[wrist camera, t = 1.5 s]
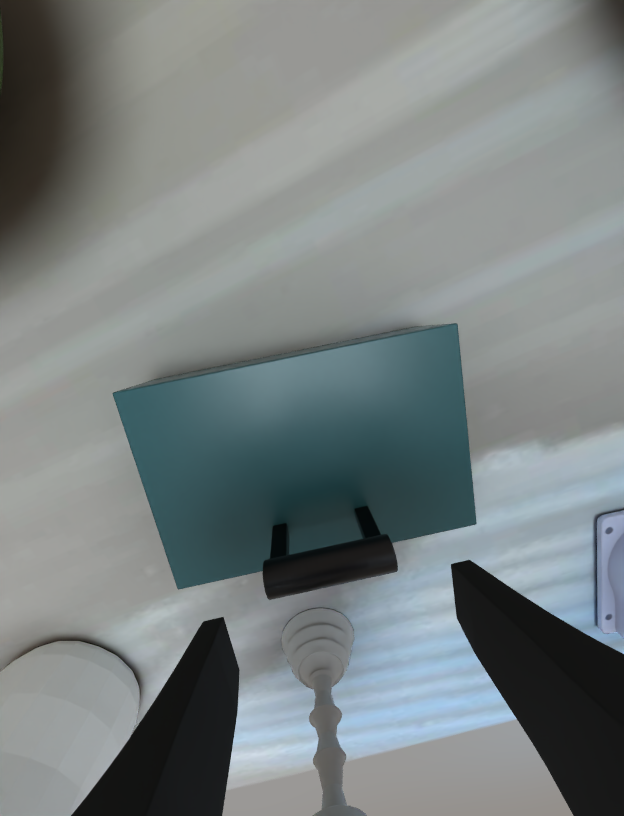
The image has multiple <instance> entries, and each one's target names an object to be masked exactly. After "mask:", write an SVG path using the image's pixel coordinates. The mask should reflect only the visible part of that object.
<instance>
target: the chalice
mask: <svg viewBox="0 0 624 816" xmlns="http://www.w3.org/2000/svg"><path fill="white" fill-rule="evenodd" d="M353 641H354V629H353V627H352V625H351V623H350V621H349V620H348V619H347V618H346V617H345V616H344V615H342V614H341V613H339V612H336V611H334V610H331V609H324V608H317V609H310V610H307V611H304V612H302V613H300V614H298V615H296V616H295V617H294V618H293V619H291V620H290V621H289V622H288V624H287V625H286V627H285V628H284V630H283V634H282V638H281V643H282V649H283V651H284V653H285V655H286V656H287V660H288V662H289V664H290V666H291V668H292V672H293V673H294V675H295V677H296V678H297V679H298V680H299V681H300V682H301V683H303V684H304V685H305V686H306V687H308V688H311V689H314V692H315V696H316V698H315V707H314V710H313V711H312V712H311V713H310V716H309V721H310V723H311V725H312V726H313V727H315V728H316V731H317V734H318V737H319V741H318V747H317V752H316V754H315V756H314V758H313V764H314V765H315V767H316V769H317V770H318V772H319V776H320V781H321V785H322V789H323V798H322V810H321V811H319V812H317V813H316V814H314V815H313V816H366V814H365V813H364V812H363V811H361V810H360V809H358V808H355V807H351V806H347V804H346V800H345V797H344V793H343V790H342V778H343V765H344V763H345V760H346V754H345V752H344V751H343V750H342V748H341V747H340V745H339V742H338V740H337V737H336V732H337V725H338V723H339V722H340V720H341V718H342V713H341V711H340V709H339V708H338V707H336V706H335V704H334V701H333V698H332V695H331V689H332V687H333V686H334V685H336V684H337V683H338V682H339V681H340V679H341V678H342V677H343V675H344V674H345V672H346V671H347V668H348V665H349V658H350V655H351V648H352V645H353Z"/></svg>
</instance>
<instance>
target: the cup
mask: <svg viewBox="0 0 624 816" xmlns="http://www.w3.org/2000/svg"><path fill="white" fill-rule="evenodd" d="M139 698H140V691H139V686H138V683H137V681H136V678H135V676H134V673H133V671H132V670H131V669H130V668H129V667H128V666H127V665H126V664H125V663H124V662H123V661H122V660H121V659H120V658H119V657H118V656H117V655H115V654H113V653H111V652H109V651H107V650H105V649H103V648H101V647H99V646H95V645H92V644H88V643H85V642H81V641H57V642H54V643H50V644H47V645H43V646H40V647H38V648H35V649H33V650H32V651H30V652H28V653H26V654H25V655H23V656H21V657H19V658H18V659H16V660H14V661H13V662H12V663H11V664H9V665H8V666H7V667H6V668H4V669H3V670H2V671H1V672H0V816H71V815H72V814H73V812H74V811H75V810H76V809H77V808H78V806H79V805H80V804H81V803H82V801H83V800H84V799H85V798H86V796H87V795H88V794H89V792H90V791H91V790H92V789H93V787H94V786H95V785H96V783H97V782H98V781H99V779H100V778H101V777H102V775H103V774H104V773H105V771H106V770H107V769H108V767H109V766H110V765H111V763H112V762H113V761H114V759H115V758H116V757H117V755H118V754H119V752H120V751H121V750H122V748H123V747H124V745H125V744H126V743H127V741H128V740H129V738H130V736H131V734H132V731H133V729H134V726H135V723H136V721H137V716H138V710H139Z"/></svg>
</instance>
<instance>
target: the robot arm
mask: <svg viewBox="0 0 624 816" xmlns="http://www.w3.org/2000/svg"><path fill="white" fill-rule="evenodd" d="M451 569H452V578H453V588H454V597H455V606H456V615H457V619H458V621H459V623H460V625H461V627H462V629H463V631H464V633H465V635H466V637H467V639H468V641H469V643H470V645H471V647H472V649H473V650H474V652H475V654H476V656H477V657H478V659H479V661H480V662H481V664H482V665H483V667H484V668H485V670H486V672H487V673H488V675H489V676H490V678H491V679H492V681H493V683H494V684H495V686H496V687H497V689H498V690H499V692H500V693H501V695H502V697H503V698H504V700H505V701H506V703H507V704H508V706H509V707H510V709H511V711H512V712H513V714H514V715H515V717H516V718H517V720H518V721H519V723H520V724H521V726H522V727H523V729H524V731H525V732H526V734H527V735H528V737H529V738H530V740H531V742H532V743H533V745H534V746H535V748H536V750H537V751H538V753H539V755H540V756H541V758H542V760H543V761H544V763H545V765H546V766H547V768H548V770H549V772H550V774H551V775H552V777H553V779H554V781H555V782H556V784H557V786H558V788H559V790H560V792H561V794H562V795H563V797H564V799H565V801H566V803H567V804H568V806H569V808H570V810H571V812H572V814H573V815H574V816H624V654H622V653H620V652H618V651H616V650H614V649H613V648H611V647H609V646H607V645H605V644H603V643H601V642H599V641H597V640H596V639H594V638H592V637H590V636H588V635H586V634H585V633H583V632H581V631H579V630H578V629H576V628H574V627H573V626H571V625H569V624H567V623H566V622H564V621H562V620H561V619H559V618H557V617H556V616H554V615H552V614H551V613H549V612H547V611H546V610H544V609H543V608H541V607H539V606H538V605H536V604H535V603H533V602H532V601H530V600H529V599H527V598H525V597H524V596H522V595H521V594H519V593H518V592H516V591H515V590H513V589H512V588H510V587H509V586H507V585H506V584H504V583H503V582H501V581H500V580H498V579H497V578H496V577H494V576H493V575H491V574H490V573H488V572H487V571H485V570H484V569H482V568H481V567H479V566H478V565H477V564H475V563H474V562H472V561H471V560H467V561H463V562H458V563H454V564H451ZM597 594H598V628H599V629H600V630H601V631H602V632H603V633H605V634H609V633H613V632H617V633H618V634H619V635H620V636H622V637H623V638H624V510H623V511H619V512H614V513H610V514H605V515H602V516H600V517H599V518H598V520H597ZM238 690H239V667H238V664H237V660H236V657H235V654H234V650H233V647H232V644H231V641H230V637H229V634H228V631H227V627H226V624H225V621H224V618H223V617H221V618H217V619H212V620H208V621H204V622H203V623H202V625H201V626H200V628H199V629H198V631H197V633H196V634H195V636H194V638H193V639H192V641H191V643H190V644H189V646H188V648H187V649H186V651H185V653H184V654H183V656H182V658H181V659H180V661H179V663H178V664H177V666H176V668H175V669H174V671H173V673H172V674H171V676H170V677H169V679H168V681H167V682H166V684H165V685H164V687H163V688H162V690H161V692H160V693H159V695H158V696H157V698H156V700H155V701H154V703H153V704H152V706H151V707H150V709H149V710H148V712H147V713H146V715H145V716H144V718H143V719H142V721H141V722H140V723H139V725H138V726H137V728H136V729H135V731H134V732H133V734H132V735H131V737H130V738H129V740H128V741H127V743H126V744H125V745H124V747H123V748H122V750H121V751H120V752H119V754H118V755H117V757H116V758H115V759H114V761H113V762H112V763H111V765H110V766H109V767H108V769H107V770H106V771H105V773H104V774H103V775H102V777H101V778H100V779H99V781H98V782H97V783H96V785H95V786H94V787H93V789H92V790H91V791H90V792H89V794H88V795H87V796H86V798H85V799H84V800H83V801H82V803H81V804H80V805H79V806H78V808H77V809H76V810H75V811H74V812H73V814H72V815H71V816H222V812H223V806H224V799H225V792H226V786H227V779H228V772H229V766H230V759H231V752H232V745H233V738H234V731H235V724H236V717H237V707H238Z"/></svg>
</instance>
